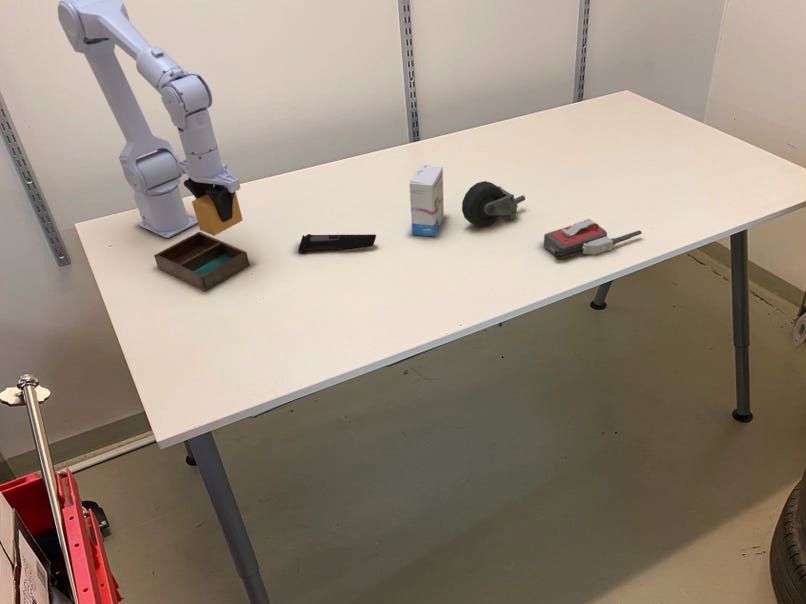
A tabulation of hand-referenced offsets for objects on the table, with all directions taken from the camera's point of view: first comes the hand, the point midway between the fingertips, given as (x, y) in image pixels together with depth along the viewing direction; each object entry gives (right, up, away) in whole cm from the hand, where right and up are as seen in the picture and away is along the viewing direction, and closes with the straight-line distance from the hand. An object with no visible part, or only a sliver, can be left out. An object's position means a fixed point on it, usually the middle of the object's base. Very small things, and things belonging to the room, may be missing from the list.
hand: (219, 216), depth 136 cm
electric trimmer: (+21, -5, +8) cm, 23 cm away
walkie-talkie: (+71, -4, +8) cm, 72 cm away
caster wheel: (+52, +2, +16) cm, 55 cm away
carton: (0, -1, +1) cm, 2 cm away
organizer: (-4, -9, +3) cm, 10 cm away
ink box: (+39, +1, +14) cm, 41 cm away
